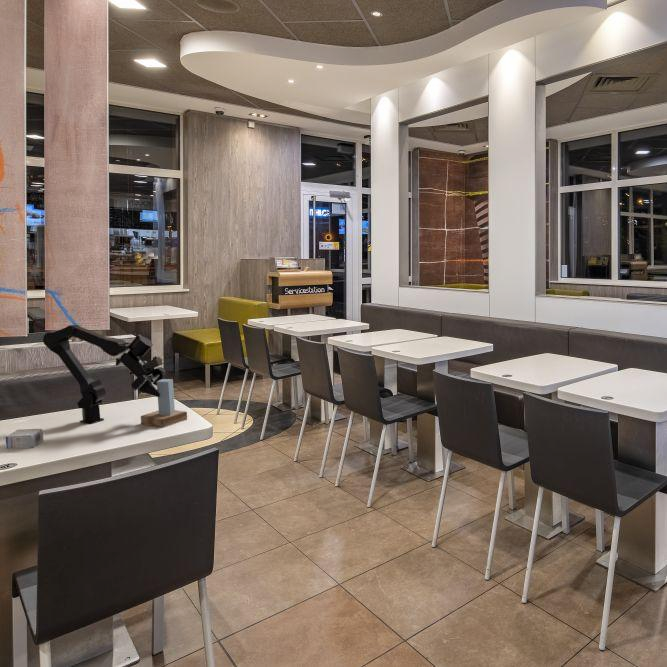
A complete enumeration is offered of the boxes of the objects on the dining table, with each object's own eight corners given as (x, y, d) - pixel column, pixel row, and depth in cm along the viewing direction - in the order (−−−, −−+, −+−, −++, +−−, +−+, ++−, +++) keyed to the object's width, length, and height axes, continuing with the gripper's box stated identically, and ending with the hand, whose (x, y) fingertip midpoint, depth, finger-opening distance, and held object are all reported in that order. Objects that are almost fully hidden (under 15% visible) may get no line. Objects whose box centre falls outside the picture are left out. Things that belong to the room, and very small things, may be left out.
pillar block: (158, 415, 210) (156, 381, 208) (163, 412, 214) (161, 379, 213) (170, 415, 209) (168, 381, 208) (174, 412, 214) (172, 379, 212)
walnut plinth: (187, 419, 214) (186, 411, 214) (163, 427, 204) (163, 419, 203) (165, 416, 220) (164, 408, 220) (141, 423, 210) (140, 415, 209)
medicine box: (43, 440, 191) (18, 441, 191) (42, 428, 191) (16, 429, 190) (32, 447, 183) (6, 449, 183) (31, 434, 183) (4, 436, 182)
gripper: (137, 354, 200) (168, 383, 200) (158, 346, 218) (187, 374, 218) (118, 375, 202) (148, 404, 202) (141, 366, 220) (169, 393, 220)
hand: (164, 393), depth 211 cm, fingers open, 9 cm apart
